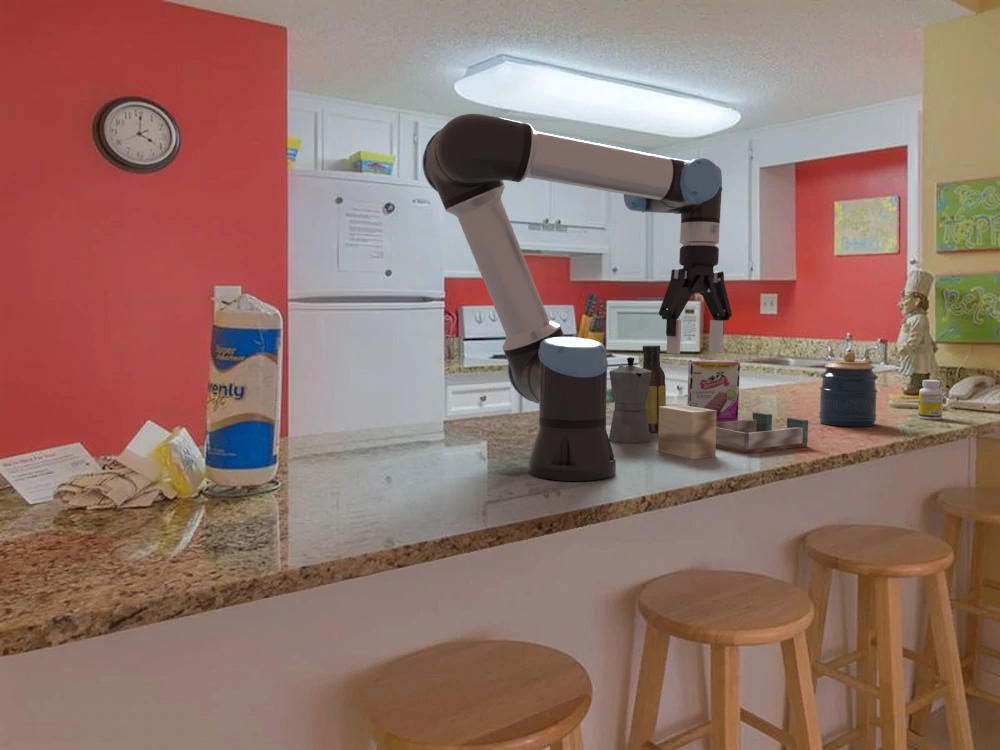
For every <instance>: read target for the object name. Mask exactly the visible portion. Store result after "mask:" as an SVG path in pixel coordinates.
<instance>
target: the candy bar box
mask: <svg viewBox="0 0 1000 750" xmlns="http://www.w3.org/2000/svg"><path fill="white" fill-rule="evenodd" d="M740 370H741V362H740V361H738V360H724V359H722V360H721V359H720V360H719V359H718V360H716V359H714V360H713V359H711V360H710V359H689V360H688V376H687V405H686V406H692V407H698V408H704V409H710V410H716V411H717V413H716V423H718V422H728V421H739V403H740V402H739V399H740V398H739V397H740V394H739V393H740V392H739V391H740V375H741V374H740Z"/></svg>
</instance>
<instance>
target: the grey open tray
mask: <svg viewBox="0 0 1000 750" xmlns="http://www.w3.org/2000/svg"><path fill="white" fill-rule="evenodd" d="M772 422H773V414H772V413H767V412H759V411H756V412H752V415H751V419H741V420H739V419H738V421H728V422H718V423H716V448H718V449H723V450H728V451H731V452H733V451H734V452H736V453H741V454H745V455H747V454H754V453H755V454H756V453H762V452H772V451H779V450H780V449H782V450H787V449H786V448H790V449H796V448H795V447H799V448H805V447H808V443H809V442H808V441H809V440H808V436H809V435H808V434H809V419H803V418H798V417H797V418H796V417H787V418H786V427H785V428H778V429H774V430H773V429H772V428H773V423H772ZM780 451H781V450H780Z"/></svg>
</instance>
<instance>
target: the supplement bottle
mask: <svg viewBox="0 0 1000 750" xmlns="http://www.w3.org/2000/svg"><path fill="white" fill-rule="evenodd" d="M940 386H941V380H937V379H923V380H922V388H920V389H919V392H918V418H919V419H922V420H929V421H930V420H933V421H937V420H942V418H943V409H944V408H943V402H944V401H943V400H944V391H943V390H942V389H941V388H940Z"/></svg>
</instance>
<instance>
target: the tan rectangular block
mask: <svg viewBox="0 0 1000 750" xmlns="http://www.w3.org/2000/svg"><path fill="white" fill-rule="evenodd" d="M716 413H717V411H716V410H710V409H704V408H698V407H692V406H687V405H684V404H677V405H676V404H674V405H666V406H661V407H659V429H658V432H657V433H658V434H657V435H658V437H657V438H658V439H657V440H658V441H657V443H658V444H657V445H658V446H657V448H658V449H657V451H658V452H662V453H666V454H669V455H670V454H671V455H674V456H678V457H680V458H681V457H683V458H685V457H686V458H687V459H689V458H690V459H689V460H694V459H702V458H704V459H705V458H712V457H716V453H717V452H716V450H717V447H716Z"/></svg>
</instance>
